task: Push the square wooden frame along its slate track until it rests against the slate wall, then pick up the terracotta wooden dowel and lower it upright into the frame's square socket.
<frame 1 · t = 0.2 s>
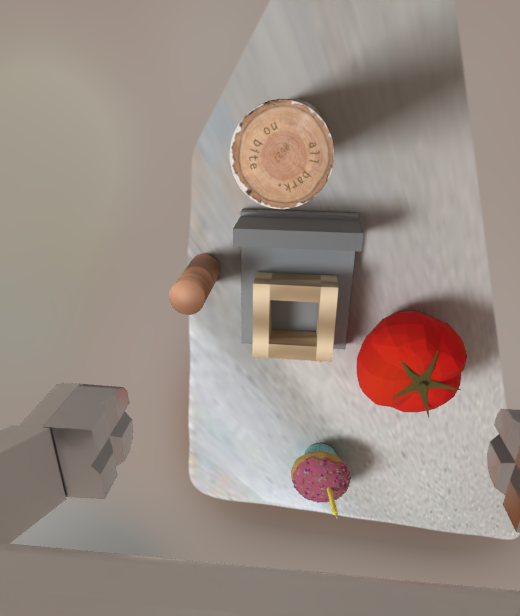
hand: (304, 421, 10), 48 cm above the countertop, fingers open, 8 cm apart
wooden log: (294, 131, 52), on the countertop
dowel: (205, 268, 60), on the countertop
tomato: (400, 339, 62), on the countertop
square wooden frame: (294, 316, 58), point 4 cm above the countertop, slide at 0.0 cm
slate track: (296, 279, 60), on the countertop
cupcake: (320, 454, 71), on the countertop
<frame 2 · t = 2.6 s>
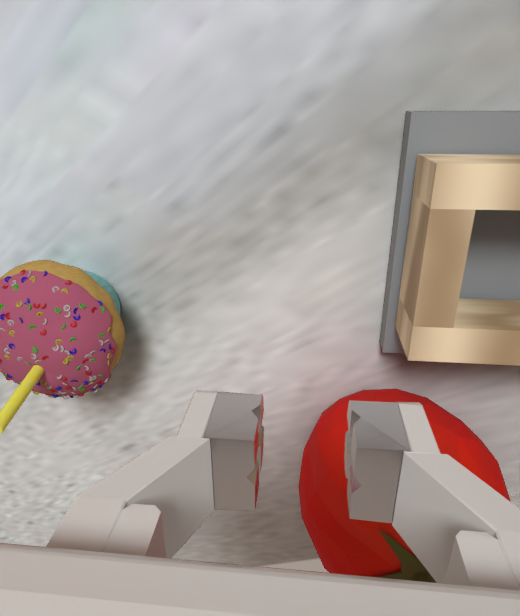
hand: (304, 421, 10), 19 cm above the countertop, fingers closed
tomato: (382, 429, 34), on the countertop
square wooden frame: (512, 260, 24), point 4 cm above the countertop, slide at 0.0 cm
cupcake: (86, 301, 32), on the countertop
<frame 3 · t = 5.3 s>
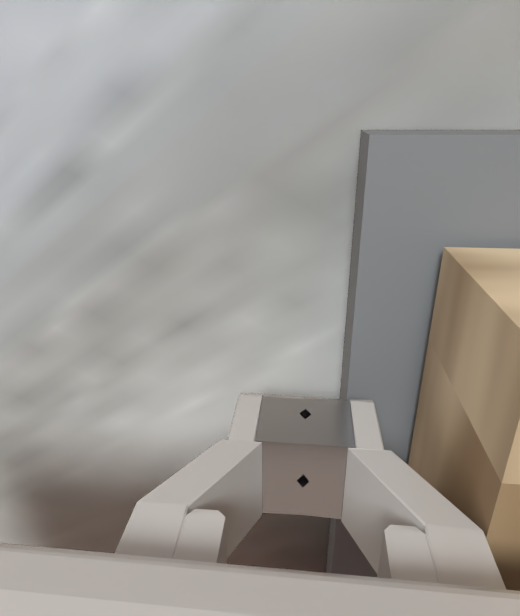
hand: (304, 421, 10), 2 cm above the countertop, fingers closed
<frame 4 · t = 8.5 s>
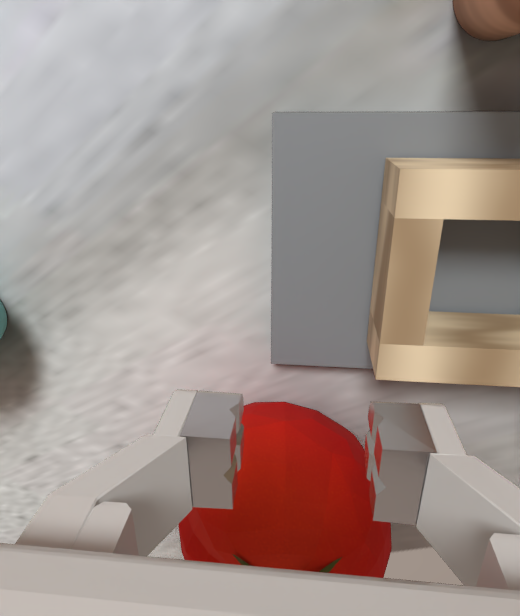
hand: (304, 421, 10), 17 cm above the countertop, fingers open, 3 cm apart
tomato: (286, 442, 32), on the countertop
square wooden frame: (487, 273, 22), point 4 cm above the countertop, slide at 5.0 cm, touching slate track
slate track: (435, 248, 25), on the countertop
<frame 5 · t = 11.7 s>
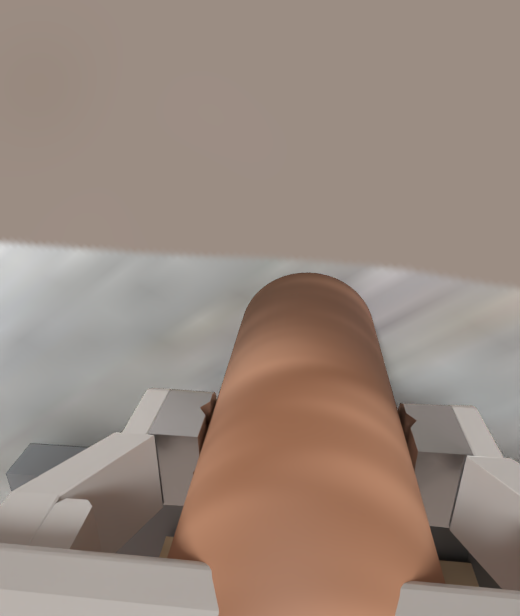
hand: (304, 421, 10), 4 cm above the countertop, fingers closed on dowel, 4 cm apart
dowel: (306, 334, 14), on the countertop, touching gripper
slate track: (271, 591, 19), on the countertop
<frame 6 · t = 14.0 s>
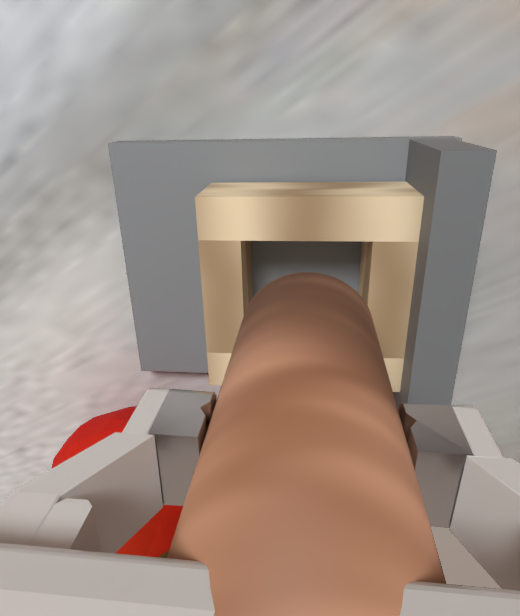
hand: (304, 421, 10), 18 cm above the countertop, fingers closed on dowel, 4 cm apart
dowel: (306, 334, 14), point 14 cm above the countertop, touching gripper
tomato: (174, 443, 34), on the countertop
square wooden frame: (304, 286, 24), point 4 cm above the countertop, slide at 5.0 cm, touching slate track
slate track: (280, 262, 28), on the countertop
when the fingers open (7 cm above the countertop, at t = 16.6 s): dowel drops 1 cm, resting on slate track.
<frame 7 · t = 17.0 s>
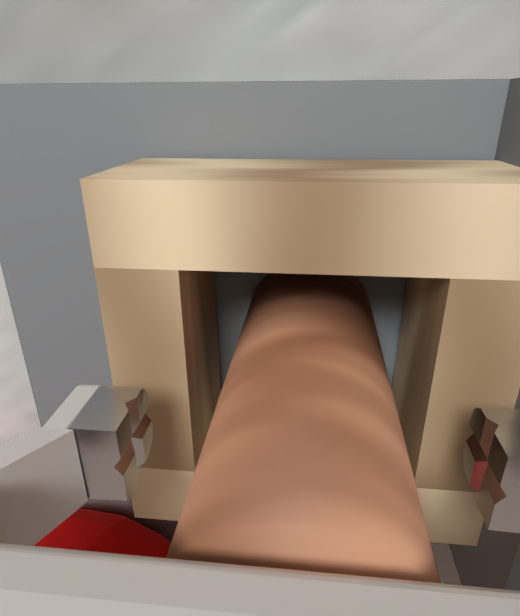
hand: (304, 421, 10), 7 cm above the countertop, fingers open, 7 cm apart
dowel: (309, 315, 15), point 2 cm above the countertop, touching slate track
tomato: (112, 545, 24), on the countertop
square wooden frame: (306, 348, 13), point 4 cm above the countertop, slide at 5.0 cm, touching slate track
slate track: (266, 295, 17), on the countertop
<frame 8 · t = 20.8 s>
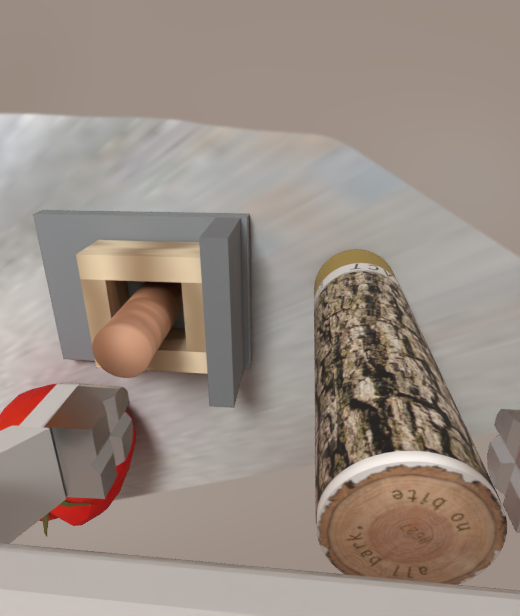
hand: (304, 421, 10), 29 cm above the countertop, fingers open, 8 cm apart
wooden log: (353, 284, 40), on the countertop
dowel: (164, 295, 40), point 1 cm above the countertop, touching slate track
tomato: (93, 411, 49), on the countertop
square wooden frame: (155, 306, 38), point 4 cm above the countertop, slide at 5.0 cm, touching slate track
slate track: (152, 288, 42), on the countertop
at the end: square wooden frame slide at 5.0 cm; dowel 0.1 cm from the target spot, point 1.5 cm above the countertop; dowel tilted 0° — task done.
